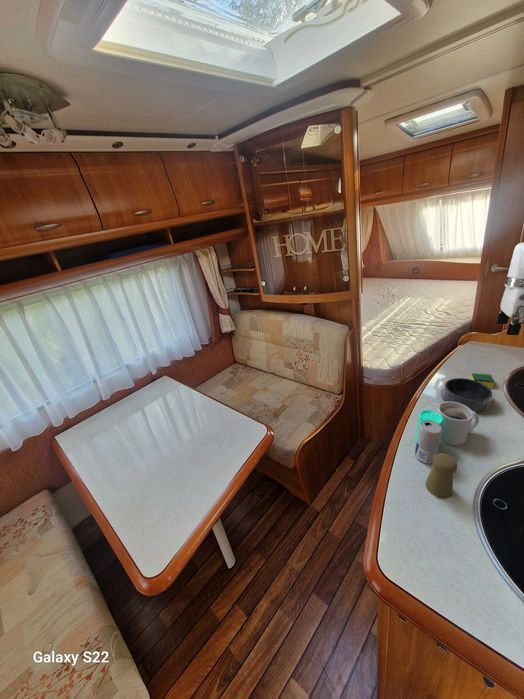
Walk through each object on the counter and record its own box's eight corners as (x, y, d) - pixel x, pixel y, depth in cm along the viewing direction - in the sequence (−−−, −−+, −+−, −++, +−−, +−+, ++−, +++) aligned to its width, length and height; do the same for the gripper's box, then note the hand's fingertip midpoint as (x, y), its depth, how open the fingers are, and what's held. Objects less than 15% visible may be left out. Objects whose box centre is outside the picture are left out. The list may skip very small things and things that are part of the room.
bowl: (481, 392, 102) (485, 380, 99) (494, 416, 91) (498, 403, 88) (439, 388, 107) (441, 376, 104) (446, 410, 96) (449, 398, 93)
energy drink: (426, 447, 83) (432, 417, 78) (439, 461, 78) (447, 430, 73) (410, 451, 83) (415, 422, 77) (423, 466, 78) (429, 435, 72)
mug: (430, 438, 86) (435, 414, 81) (435, 420, 92) (440, 396, 88) (473, 452, 80) (481, 426, 75) (475, 431, 86) (482, 407, 82)
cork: (422, 476, 75) (428, 448, 70) (447, 478, 74) (454, 449, 69) (429, 497, 70) (436, 468, 65) (456, 499, 68) (465, 470, 63)
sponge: (488, 382, 106) (490, 374, 105) (492, 388, 103) (494, 380, 101) (469, 380, 108) (471, 373, 107) (472, 387, 105) (474, 379, 103)
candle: (411, 436, 88) (416, 407, 82) (429, 434, 88) (435, 404, 82) (422, 451, 82) (428, 421, 77) (441, 448, 82) (449, 418, 77)
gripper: (548, 288, 81) (531, 340, 89) (524, 274, 95) (510, 320, 103) (516, 289, 84) (502, 339, 92) (497, 275, 98) (486, 319, 106)
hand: (506, 329), depth 97 cm, fingers open, 9 cm apart
